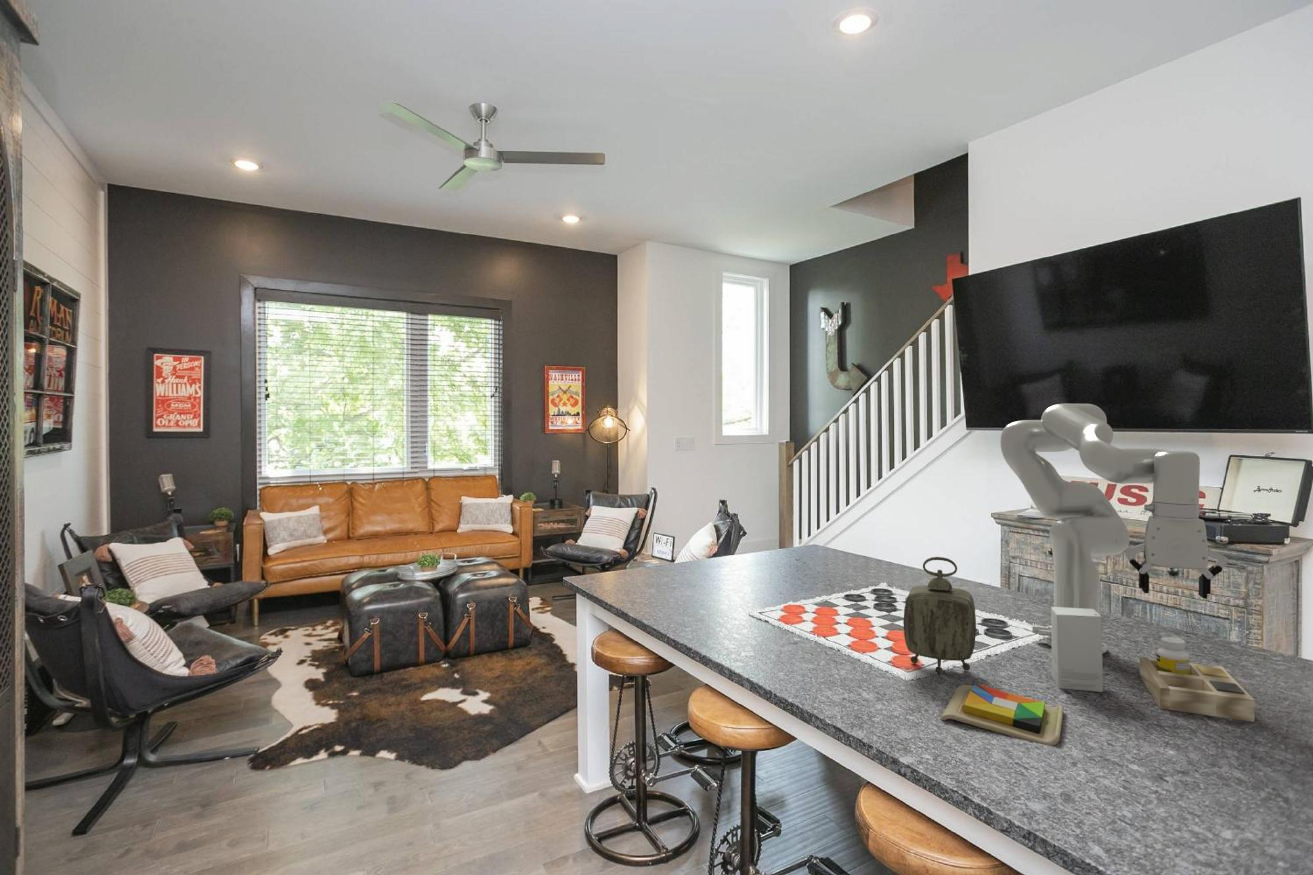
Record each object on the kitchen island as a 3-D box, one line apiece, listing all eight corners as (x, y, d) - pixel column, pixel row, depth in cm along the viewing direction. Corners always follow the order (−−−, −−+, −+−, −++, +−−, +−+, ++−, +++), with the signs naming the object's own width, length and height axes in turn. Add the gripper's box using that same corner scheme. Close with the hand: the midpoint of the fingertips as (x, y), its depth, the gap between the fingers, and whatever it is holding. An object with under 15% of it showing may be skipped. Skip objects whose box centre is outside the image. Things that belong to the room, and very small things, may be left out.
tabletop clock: (975, 669, 151) (976, 556, 151) (975, 683, 143) (976, 563, 142) (906, 660, 157) (906, 551, 157) (902, 673, 149) (902, 558, 149)
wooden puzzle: (1059, 750, 114) (1059, 730, 114) (939, 724, 125) (939, 705, 125) (1063, 713, 129) (1064, 695, 129) (956, 692, 139) (956, 675, 139)
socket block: (1160, 708, 130) (1160, 685, 130) (1139, 675, 147) (1139, 655, 147) (1254, 721, 124) (1254, 698, 124) (1221, 686, 141) (1221, 665, 141)
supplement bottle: (1150, 682, 143) (1150, 635, 143) (1176, 682, 143) (1176, 635, 143) (1168, 692, 138) (1169, 643, 138) (1196, 692, 138) (1196, 643, 138)
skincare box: (1095, 682, 143) (1095, 608, 143) (1104, 694, 137) (1104, 616, 137) (1049, 677, 146) (1050, 605, 146) (1056, 689, 140) (1057, 612, 140)
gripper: (1128, 511, 140) (1126, 594, 141) (1235, 516, 133) (1232, 604, 133) (1121, 506, 147) (1120, 586, 148) (1222, 511, 140) (1220, 595, 140)
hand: (1173, 594), depth 140 cm, fingers open, 9 cm apart
